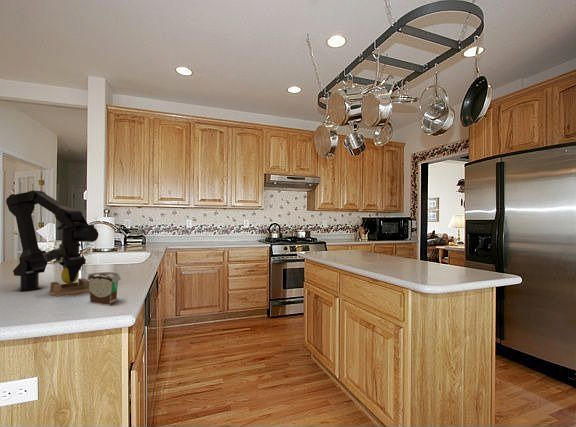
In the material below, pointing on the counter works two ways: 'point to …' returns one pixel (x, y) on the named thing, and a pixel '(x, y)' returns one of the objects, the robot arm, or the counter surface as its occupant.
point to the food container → (103, 287)
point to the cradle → (69, 287)
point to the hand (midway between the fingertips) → (69, 280)
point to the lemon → (67, 276)
